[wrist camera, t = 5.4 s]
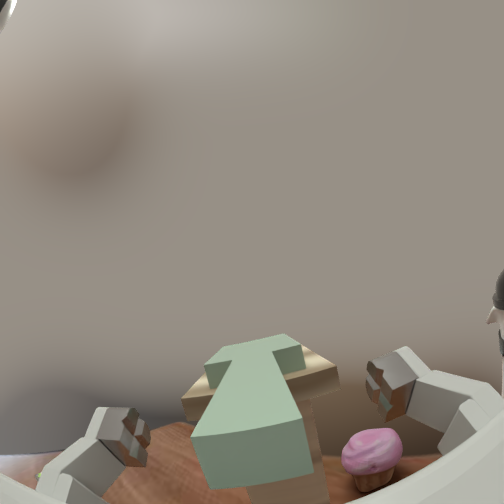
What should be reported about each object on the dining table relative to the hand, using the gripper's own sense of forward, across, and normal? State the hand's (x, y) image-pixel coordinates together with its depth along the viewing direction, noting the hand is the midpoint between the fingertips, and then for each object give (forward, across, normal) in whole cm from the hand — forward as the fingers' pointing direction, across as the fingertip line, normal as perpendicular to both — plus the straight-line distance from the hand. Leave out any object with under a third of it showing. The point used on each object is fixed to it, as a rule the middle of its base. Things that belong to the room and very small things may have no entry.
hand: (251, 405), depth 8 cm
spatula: (+6, 0, +4) cm, 7 cm away
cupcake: (+6, -12, +35) cm, 38 cm away
